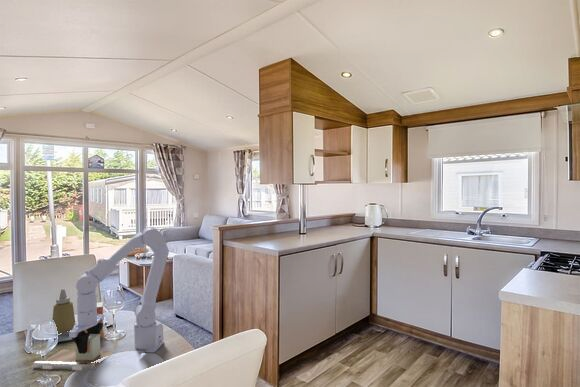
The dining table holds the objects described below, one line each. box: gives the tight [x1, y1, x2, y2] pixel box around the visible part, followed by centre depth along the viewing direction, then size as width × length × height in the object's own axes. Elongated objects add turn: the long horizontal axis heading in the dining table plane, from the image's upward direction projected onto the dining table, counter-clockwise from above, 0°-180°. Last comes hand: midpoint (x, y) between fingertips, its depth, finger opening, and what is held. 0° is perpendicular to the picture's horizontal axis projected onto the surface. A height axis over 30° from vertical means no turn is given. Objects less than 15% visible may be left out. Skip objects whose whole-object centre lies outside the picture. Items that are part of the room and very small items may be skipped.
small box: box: [84, 301, 104, 338], centre depth 130 cm, size 8×6×13 cm
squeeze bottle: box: [51, 288, 76, 334], centre depth 135 cm, size 8×8×18 cm
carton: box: [74, 334, 101, 360], centre depth 113 cm, size 4×6×7 cm, turn 86°
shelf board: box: [33, 348, 116, 371], centre depth 111 cm, size 20×12×3 cm, turn 86°
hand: (88, 349), depth 113 cm, fingers open, 5 cm apart
